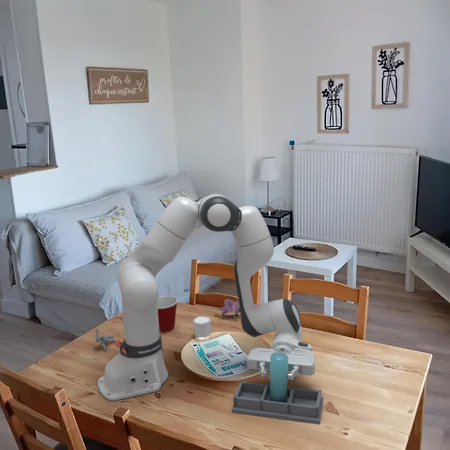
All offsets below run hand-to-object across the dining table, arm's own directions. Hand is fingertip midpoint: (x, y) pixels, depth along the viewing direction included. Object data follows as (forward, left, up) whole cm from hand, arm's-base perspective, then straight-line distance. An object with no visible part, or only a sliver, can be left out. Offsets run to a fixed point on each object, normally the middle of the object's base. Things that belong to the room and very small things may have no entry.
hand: (276, 376), depth 141 cm
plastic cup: (-7, +65, -11) cm, 66 cm away
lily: (+19, +58, -11) cm, 62 cm away
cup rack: (+1, +1, -10) cm, 11 cm away
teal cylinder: (+1, +1, -9) cm, 9 cm away
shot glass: (+2, +51, -11) cm, 52 cm away
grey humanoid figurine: (-32, +65, -11) cm, 74 cm away
